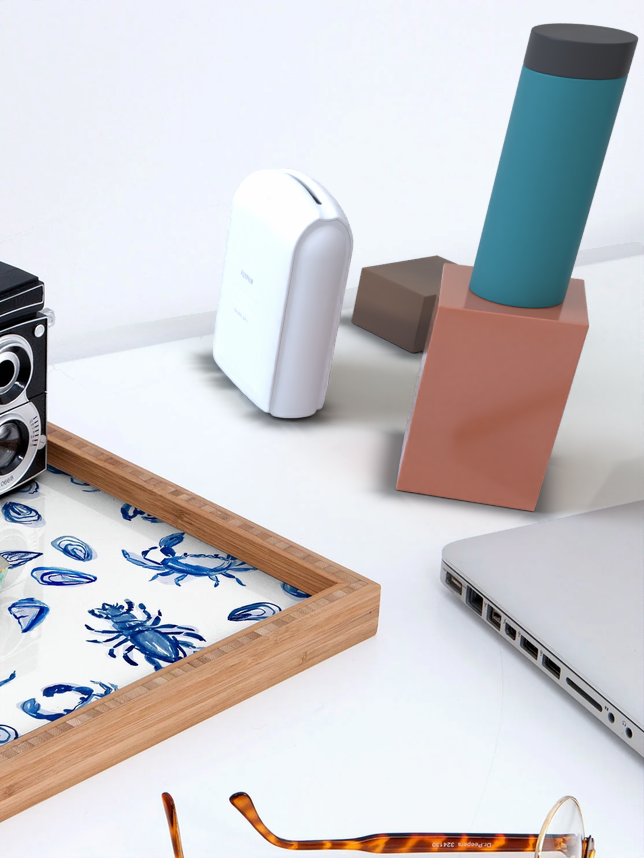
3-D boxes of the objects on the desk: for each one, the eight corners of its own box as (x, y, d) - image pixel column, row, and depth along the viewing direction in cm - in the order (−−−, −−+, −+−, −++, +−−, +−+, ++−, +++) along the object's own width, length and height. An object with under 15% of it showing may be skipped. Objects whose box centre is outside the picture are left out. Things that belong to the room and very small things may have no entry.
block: (412, 353, 93) (425, 296, 91) (350, 322, 98) (361, 267, 95) (488, 338, 96) (502, 282, 94) (424, 308, 100) (437, 254, 98)
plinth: (533, 457, 81) (584, 279, 75) (534, 512, 76) (589, 325, 70) (403, 437, 83) (444, 262, 77) (395, 490, 77) (438, 305, 72)
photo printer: (201, 356, 92) (229, 152, 85) (265, 352, 93) (298, 150, 86) (261, 424, 84) (298, 204, 77) (331, 419, 85) (374, 202, 77)
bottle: (584, 301, 73) (515, 314, 71) (517, 272, 76) (449, 284, 74) (661, 39, 66) (586, 46, 64) (583, 20, 69) (509, 26, 67)
